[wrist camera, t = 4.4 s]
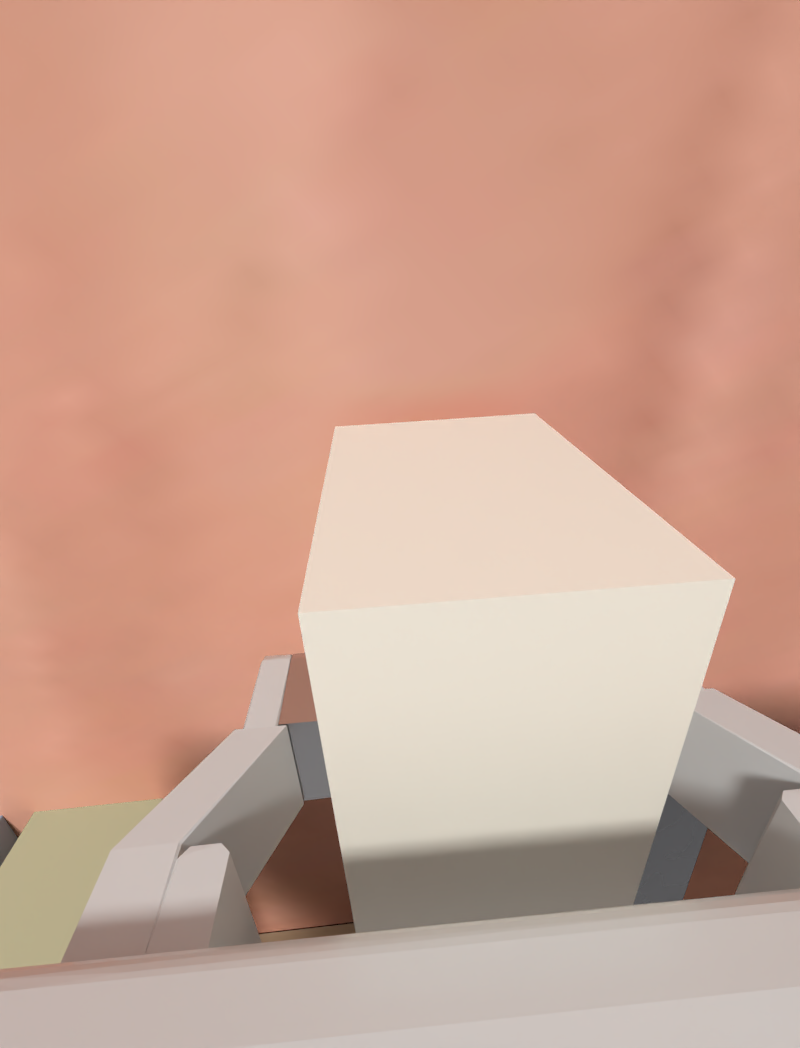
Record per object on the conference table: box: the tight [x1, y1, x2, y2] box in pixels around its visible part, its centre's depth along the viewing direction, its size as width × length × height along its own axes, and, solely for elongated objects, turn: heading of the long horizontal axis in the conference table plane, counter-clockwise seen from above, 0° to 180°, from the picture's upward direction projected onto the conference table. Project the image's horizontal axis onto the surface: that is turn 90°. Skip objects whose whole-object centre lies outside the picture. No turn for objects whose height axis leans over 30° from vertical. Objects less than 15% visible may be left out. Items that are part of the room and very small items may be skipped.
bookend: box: [633, 794, 707, 905], centre depth 14 cm, size 8×7×7 cm
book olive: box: [0, 799, 163, 969], centre depth 15 cm, size 8×4×6 cm, turn 4°
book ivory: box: [298, 413, 735, 933], centre depth 9 cm, size 8×4×6 cm, turn 3°
